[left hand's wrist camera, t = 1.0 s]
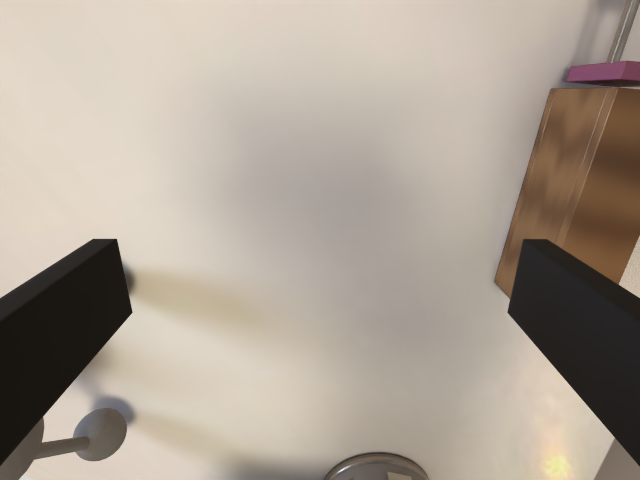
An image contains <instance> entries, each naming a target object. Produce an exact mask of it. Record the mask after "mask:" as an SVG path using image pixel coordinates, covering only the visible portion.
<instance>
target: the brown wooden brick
mask: <svg viewBox="0 0 640 480" xmlns="http://www.w3.org/2000/svg"><path fill="white" fill-rule="evenodd" d="M639 235H640V90H638V89H628V88H569V89H551V90H550V94H549V97H548V101H547V104H546V107H545V111H544V114H543V118H542V121H541V124H540V128H539V131H538V135H537V138H536V141H535V145H534V148H533V152H532V155H531V158H530V162H529V165H528V169H527V172H526V175H525V179H524V182H523V186H522V189H521V192H520V196H519V199H518V203H517V206H516V209H515V213H514V216H513V220H512V223H511V226H510V230H509V233H508V237H507V240H506V243H505V247H504V250H503V254H502V257H501V260H500V264H499V267H498V271H497V274H496V278H495V281H494V282H495V283H496V284H497V285H498V287H499V288H500V289H501V290H502V291H503V292H504V293H505V294H506V295H507V296H508V297H509V299H511V294H512V289H513V284H514V280H515V275H516V270H517V266H518V261H519V256H520V251H521V247H522V242H523V239H548V240H549V241H551V242H552V243H554V244H556V245H557V246H559V247H560V248H562V249H563V250H565V251H566V252H568V253H570V254H571V255H573V256H574V257H576V258H577V259H579V260H581V261H582V262H584V263H585V264H587V265H588V266H590V267H592V268H593V269H595V270H596V271H598V272H599V273H601V274H603V275H604V276H606V277H607V278H609V279H610V280H612V281H613V282H615V283H617V284H619V282H620V279H621V277H622V275H623V273H624V270H625V268H626V266H627V263H628V261H629V259H630V256H631V254H632V252H633V249H634V247H635V245H636V242H637V240H638V238H639Z"/></svg>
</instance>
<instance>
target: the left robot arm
mask: <svg viewBox="0 0 640 480" xmlns="http://www.w3.org/2000/svg"><path fill="white" fill-rule="evenodd" d="M131 314H132V308H131V303H130V299H129V294H128V289H127V284H126V280H125V275H124V270H123V266H122V261H121V256H120V251H119V247H118V242H117V239H92V240H91V241H89V242H88V243H86V244H84V245H83V246H81V247H80V248H78V249H77V250H75V251H74V252H72V253H70V254H69V255H67V256H66V257H64V258H63V259H61V260H59V261H58V262H56V263H55V264H53V265H52V266H50V267H48V268H47V269H45V270H44V271H42V272H41V273H39V274H37V275H36V276H34V277H33V278H31V279H30V280H28V281H27V282H25V283H23V284H22V285H20V286H19V287H17V288H16V289H14V290H12V291H11V292H9V293H8V294H6V295H5V296H3V297H1V298H0V466H1V465H2V464H3V463H4V461H5V460H6V459H7V458H8V457H9V456H10V454H11V453H12V452H13V451H14V450H15V449H16V447H17V446H18V445H19V444H20V443H21V442H22V440H23V439H24V438H25V437H26V436H27V435H28V433H29V432H30V431H31V430H32V429H33V428H34V426H35V425H36V424H37V423H38V422H39V421H40V419H41V418H42V417H43V416H44V415H45V414H46V413H47V411H48V410H49V409H50V408H51V407H52V406H53V404H54V403H55V402H56V401H57V400H58V399H59V397H60V396H61V395H62V394H63V393H64V392H65V390H66V389H67V388H68V387H69V386H70V385H71V383H72V382H73V381H74V380H75V379H76V378H77V376H78V375H79V374H80V373H81V372H82V371H83V369H84V368H85V367H86V366H87V365H88V364H89V362H90V361H91V360H92V359H93V358H94V357H95V355H96V354H97V353H98V352H99V351H100V350H101V348H102V347H103V346H104V345H105V344H106V343H107V341H108V340H109V339H110V338H111V337H112V336H113V334H114V333H115V332H116V331H117V330H118V329H119V328H120V326H121V325H122V324H123V323H124V322H125V321H126V319H127V318H128V317H129V316H130V315H131ZM508 314H509V315H510V316H511V317H512V318H513V319H514V321H515V322H516V323H517V324H518V325H519V326H520V328H521V329H522V330H523V331H524V332H525V333H526V334H527V336H528V337H529V338H530V339H531V340H532V341H533V343H534V344H535V345H536V346H537V347H538V348H539V350H540V351H541V352H542V353H543V354H544V355H545V357H546V358H547V359H548V360H549V361H550V362H551V364H552V365H553V366H554V367H555V368H556V369H557V371H558V372H559V373H560V374H561V375H562V376H563V378H564V379H565V380H566V381H567V382H568V383H569V385H570V386H571V387H572V388H573V389H574V390H575V392H576V393H577V394H578V395H579V396H580V397H581V399H582V400H583V401H584V402H585V403H586V404H587V406H588V407H589V408H590V409H591V410H592V411H593V413H594V414H595V415H596V416H597V417H598V418H599V419H600V421H601V422H602V423H603V424H604V425H605V426H606V428H607V429H608V430H609V431H610V432H611V433H612V435H613V436H614V437H615V438H616V439H617V440H618V442H619V443H620V444H621V445H622V446H623V447H624V449H625V450H626V451H627V452H628V453H629V454H630V456H631V457H632V458H633V459H634V460H635V461H636V463H637V464H638V465H639V466H640V298H639V297H637V296H635V295H634V294H632V293H631V292H629V291H628V290H626V289H624V288H623V287H621V286H620V285H618V284H617V283H615V282H613V281H612V280H610V279H609V278H607V277H606V276H604V275H603V274H601V273H599V272H598V271H596V270H595V269H593V268H592V267H590V266H588V265H587V264H585V263H584V262H582V261H581V260H579V259H577V258H576V257H574V256H573V255H571V254H570V253H568V252H566V251H565V250H563V249H562V248H560V247H559V246H557V245H556V244H554V243H552V242H551V241H549V240H548V239H523V242H522V247H521V251H520V256H519V261H518V266H517V270H516V275H515V280H514V284H513V289H512V294H511V299H510V303H509V308H508ZM325 480H429V479H428V477H427V475H426V474H425V472H424V471H423V470H422V469H421V468H420V467H419V466H418V465H416V464H415V463H413V462H412V461H410V460H408V459H405V458H403V457H400V456H396V455H390V454H367V455H361V456H357V457H354V458H351V459H349V460H346V461H344V462H343V463H341V464H339V465H338V466H336V467H335V468H334V469H333V470H332V471H331V472H330V473H329V474H328V475H327V476H326V478H325Z"/></svg>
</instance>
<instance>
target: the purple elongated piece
mask: <svg viewBox="0 0 640 480" xmlns="http://www.w3.org/2000/svg"><path fill="white" fill-rule="evenodd" d="M639 3H640V0H627V3H626V6H625V9H624V12H623V15H622V18H621V21H620V24H619V27H618V30H617V33H616V36H615V39H614V41H613V44H612V47H611V50H610V53H609V56H608V59H607V62H606V63H601V64H591V65H582V66H572V67H571V68H570V71H569V75H568V78H567V82H574V83H584V84H594V85H603V86H613V87H640V62H634V61H620V58H621V55H622V52H623V49H624V46H625V44H626V41H627V38H628V35H629V32H630V29H631V26H632V23H633V21H634V18H635V15H636V12H637V9H638V6H639Z"/></svg>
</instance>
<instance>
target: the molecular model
mask: <svg viewBox="0 0 640 480" xmlns="http://www.w3.org/2000/svg"><path fill="white" fill-rule="evenodd" d="M43 432H44V420H43V417H42V418H41V419H40V421H39V422H38V423H37V424H36V425H35V426H34V428H33V429H32V430H31V431H30V432H29V433H28V435H27V436H26V437H25V438H24V439H23V440H22V442H21V443H20V444H19V445H18V446H17V447H16V449H15V450H14V451H13V452H12V453H11V454H10V456H9V457H8V458H7V459H6V460H5V461H4V463H3V464H2V465H1V466H0V480H19V478H20V477H21V476H22V475H23V474H24V473H25V472H26V471H27V470H28V468H29V466H30V465H31V463H32V462H33V460H35V459H40V458H45V457H50V456H55V455H60V454H65V453H71V452H76V453H77V455H78V456H79V457H81V458H82V459H84V460H87V461H100V460H103V459H105V458H108V457H109V456H111V455H112V454H114V453H115V452H116V451H117V450H118V449H119V448H120V446H121V445H122V443H123V442H124V439H125V437H126V432H127V425H126V421H125V419H124V417H123V416H122V415H121V414H120V413H119V412H117V411H116V410H113V409H108V408H104V409H98V410H95V411H93V412H91V413H89V414H88V415H86V416H85V417H84V418H83V419H82V420H81V421H80V422H79V424H78V425H77V427H76V429H75V431H74V434H73V438H70V439H63V440H57V441H50V442H44V443H42V438H43Z"/></svg>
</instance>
